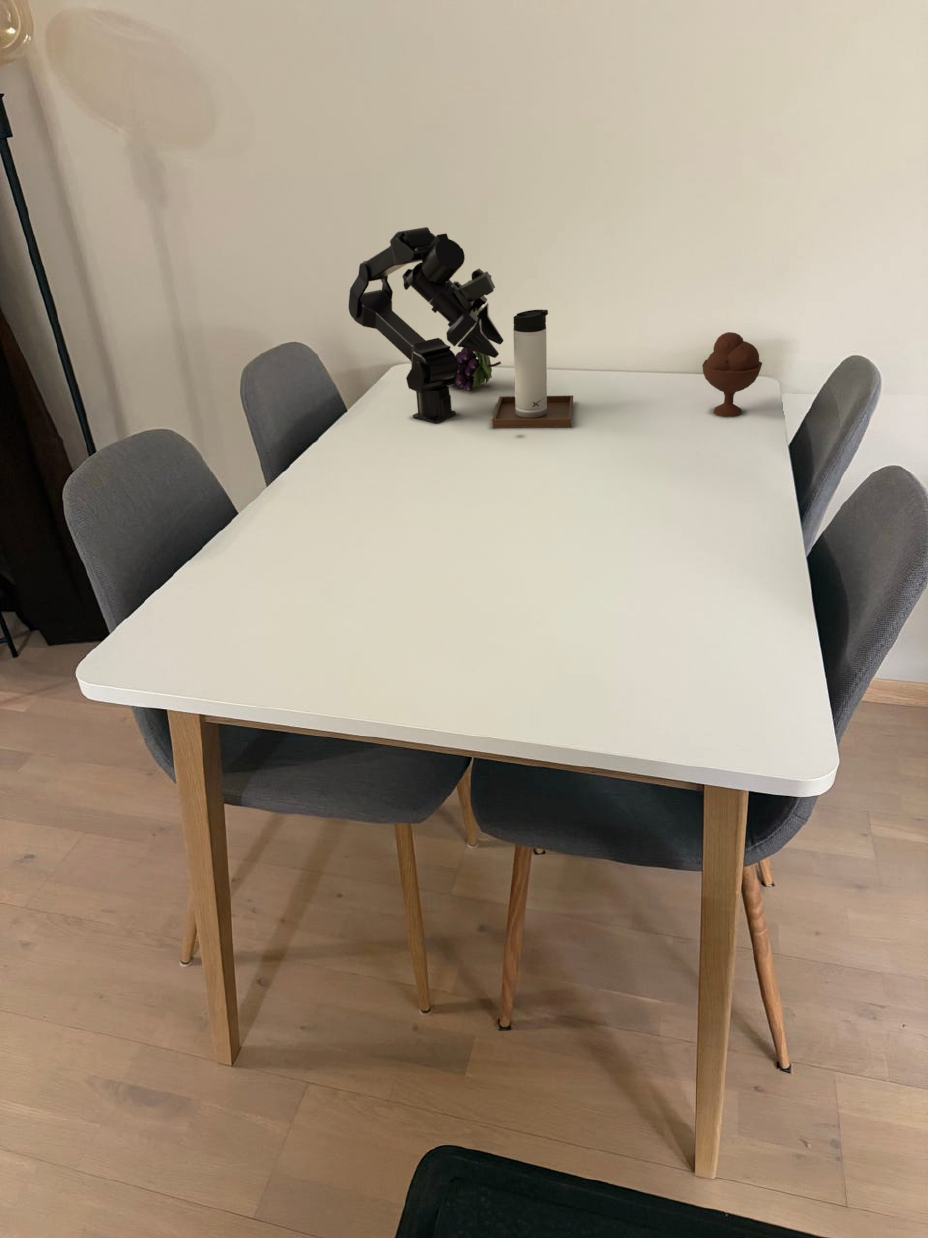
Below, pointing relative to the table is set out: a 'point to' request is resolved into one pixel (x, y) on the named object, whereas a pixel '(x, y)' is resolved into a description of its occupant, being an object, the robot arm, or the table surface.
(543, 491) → the table surface
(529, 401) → the travel mug
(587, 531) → the table surface
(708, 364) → the ice cream bowl
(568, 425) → the serving tray
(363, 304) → the robot arm
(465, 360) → the fruit
